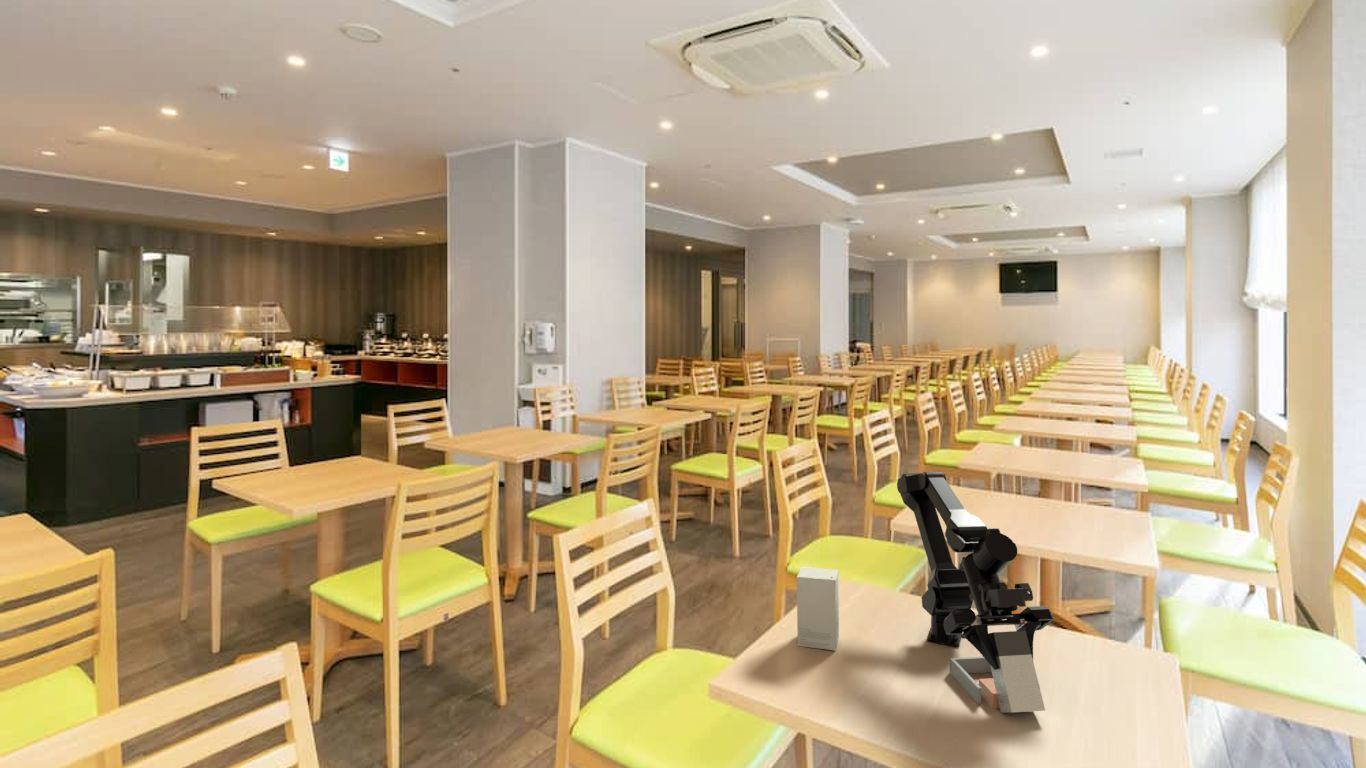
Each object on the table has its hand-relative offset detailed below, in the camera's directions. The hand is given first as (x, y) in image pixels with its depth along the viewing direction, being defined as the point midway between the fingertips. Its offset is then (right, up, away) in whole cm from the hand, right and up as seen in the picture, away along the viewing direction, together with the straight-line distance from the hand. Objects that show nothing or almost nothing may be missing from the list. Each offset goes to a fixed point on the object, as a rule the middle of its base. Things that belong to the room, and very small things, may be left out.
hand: (1013, 668), depth 124 cm
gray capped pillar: (0, -7, -2) cm, 7 cm away
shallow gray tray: (-1, -7, +8) cm, 10 cm away
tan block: (0, -7, +3) cm, 8 cm away
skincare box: (-30, -5, +25) cm, 40 cm away
